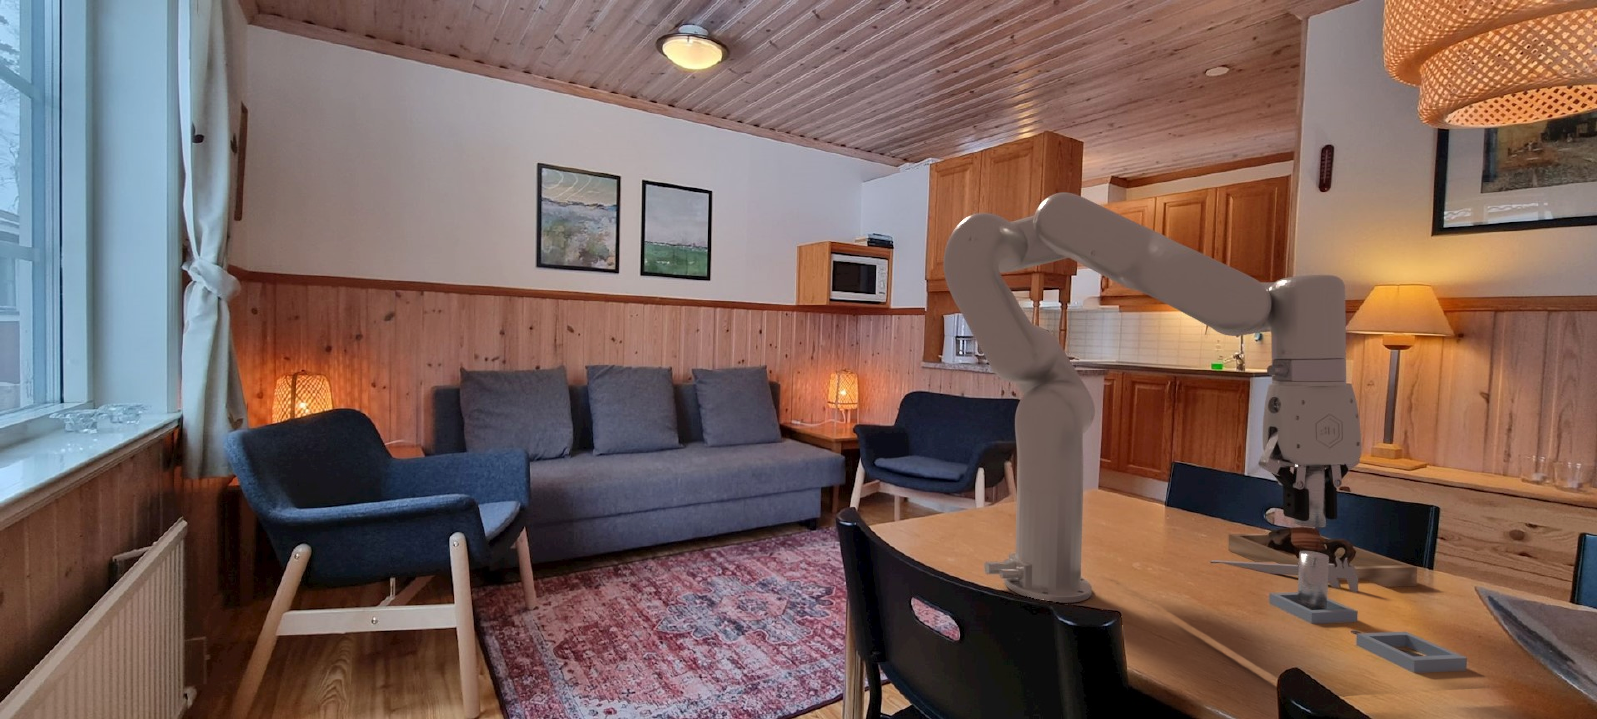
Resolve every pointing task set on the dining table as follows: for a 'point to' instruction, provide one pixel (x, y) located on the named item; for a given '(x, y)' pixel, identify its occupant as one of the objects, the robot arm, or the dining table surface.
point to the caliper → (1287, 569)
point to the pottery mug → (1309, 543)
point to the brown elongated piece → (1367, 562)
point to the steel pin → (1315, 496)
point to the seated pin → (1313, 580)
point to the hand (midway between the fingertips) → (1309, 516)
